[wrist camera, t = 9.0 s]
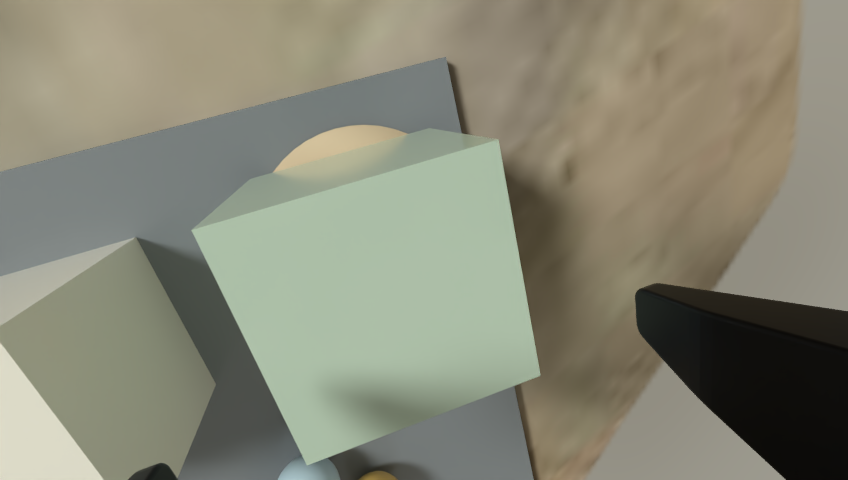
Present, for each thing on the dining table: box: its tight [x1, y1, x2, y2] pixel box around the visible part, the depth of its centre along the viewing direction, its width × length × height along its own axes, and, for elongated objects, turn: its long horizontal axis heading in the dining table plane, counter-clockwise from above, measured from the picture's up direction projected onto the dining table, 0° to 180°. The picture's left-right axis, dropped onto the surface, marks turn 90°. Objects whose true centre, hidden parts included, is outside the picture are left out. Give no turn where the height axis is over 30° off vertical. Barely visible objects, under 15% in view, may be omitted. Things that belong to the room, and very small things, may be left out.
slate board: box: [0, 57, 534, 480], centre depth 19 cm, size 26×21×1 cm
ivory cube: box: [0, 237, 216, 480], centre depth 13 cm, size 7×7×7 cm
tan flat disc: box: [274, 125, 407, 172], centre depth 17 cm, size 9×9×1 cm
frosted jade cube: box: [191, 128, 541, 465], centre depth 14 cm, size 7×7×7 cm
